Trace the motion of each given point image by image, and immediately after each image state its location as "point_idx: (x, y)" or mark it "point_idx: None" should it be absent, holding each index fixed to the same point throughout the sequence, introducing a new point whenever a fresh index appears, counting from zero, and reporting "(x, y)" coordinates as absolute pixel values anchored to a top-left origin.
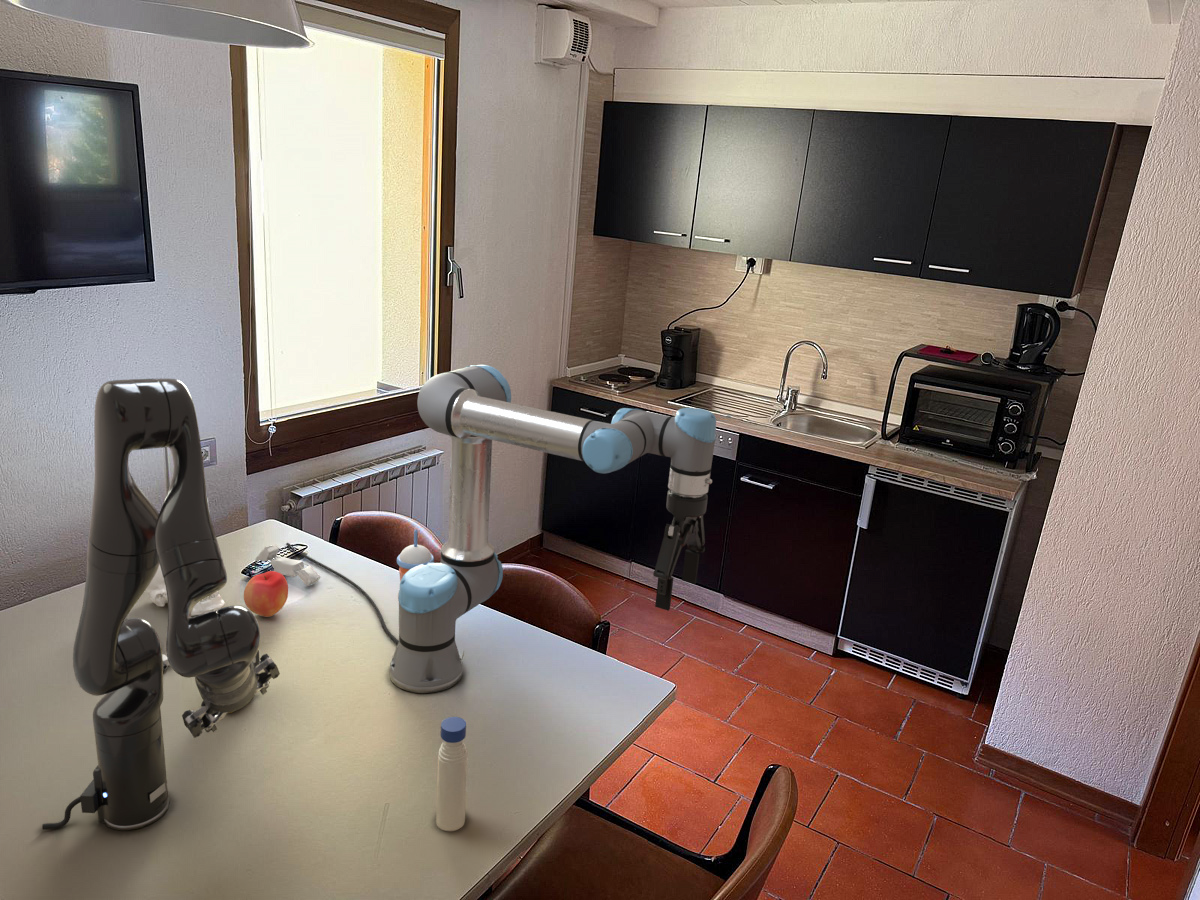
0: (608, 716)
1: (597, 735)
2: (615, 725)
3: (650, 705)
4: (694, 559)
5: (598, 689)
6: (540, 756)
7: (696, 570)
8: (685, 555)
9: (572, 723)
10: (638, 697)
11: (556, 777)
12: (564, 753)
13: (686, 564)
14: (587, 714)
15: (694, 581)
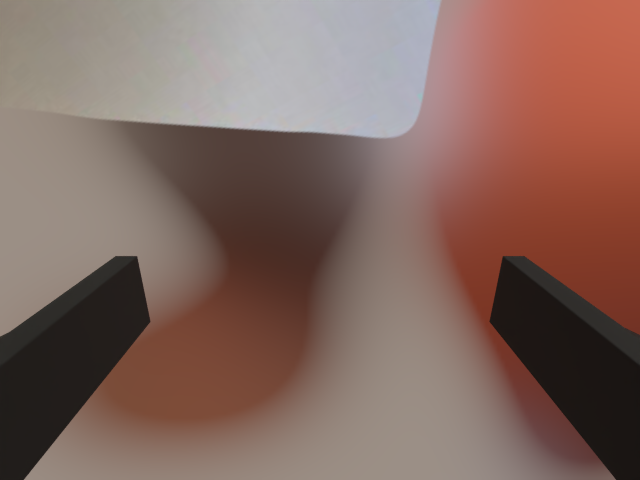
0: (268, 75)
1: (203, 85)
2: (251, 101)
3: (347, 132)
4: (596, 425)
5: (342, 5)
6: (78, 18)
7: (537, 377)
8: (635, 368)
9: (203, 19)
10: (360, 99)
11: (57, 79)
12: (118, 56)
13: (569, 330)
14: (248, 31)
15: (497, 326)
